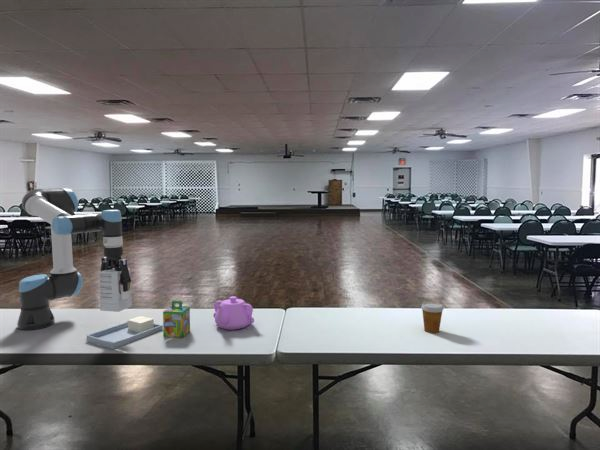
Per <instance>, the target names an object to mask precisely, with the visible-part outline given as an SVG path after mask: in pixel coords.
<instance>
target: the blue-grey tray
mask: <svg viewBox="0 0 600 450" xmlns="http://www.w3.org/2000/svg"><path fill="white" fill-rule="evenodd" d="M161 331H163V324H159V323H155V322H154V328H152V329H150V330H147V331H144V332H141V333H139V332H135V331H131V330H128V321H125V322H122V323H119V324H117V325H114V326H111V327H107V328H103V329H102V330H99V331H95V332H93V333H90V334H87V335H86V342H87V343H88V342H89V343H91V344H94V345H98V346H100V347H104V348H107V349H111V350H116V349H117V348H119V347H122V346H124V345H126V344H128V343H131V342H134V341H137V340H139V339H142V338H145V337H147V336H149V335H152V334H154V333H157V332H161Z"/></svg>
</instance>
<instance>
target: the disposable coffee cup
mask: <svg viewBox="0 0 600 450" xmlns="http://www.w3.org/2000/svg"><path fill="white" fill-rule="evenodd" d="M420 308H421V310H422V311H421V312H422V319H423V329H424V332H425V333H430V334H438V333H439V332H440V329H441V323H442V322H441V321H442V316H443V311H444V307H443V304H441V303H439V302H435V301H434V302H432V301H426V302H423V303H422V304H421V307H420Z"/></svg>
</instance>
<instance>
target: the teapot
mask: <svg viewBox="0 0 600 450" xmlns="http://www.w3.org/2000/svg"><path fill="white" fill-rule="evenodd" d="M253 309H254V308H253V306H252V305H251V304H250V303H246V301H245V300H244V299H242V298H238V296H229V298H228V299H225V300H221V299H220V300H217V301H215V303H214V313H213V318H214V323H215V324H216V325H217V327H219V328H220V329H222V330H230V331H231V330H235V329H236V330H241V329H243V328H246V327H248V326H249V324H254V322H255V318H254V317H253V312H254V310H253Z"/></svg>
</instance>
